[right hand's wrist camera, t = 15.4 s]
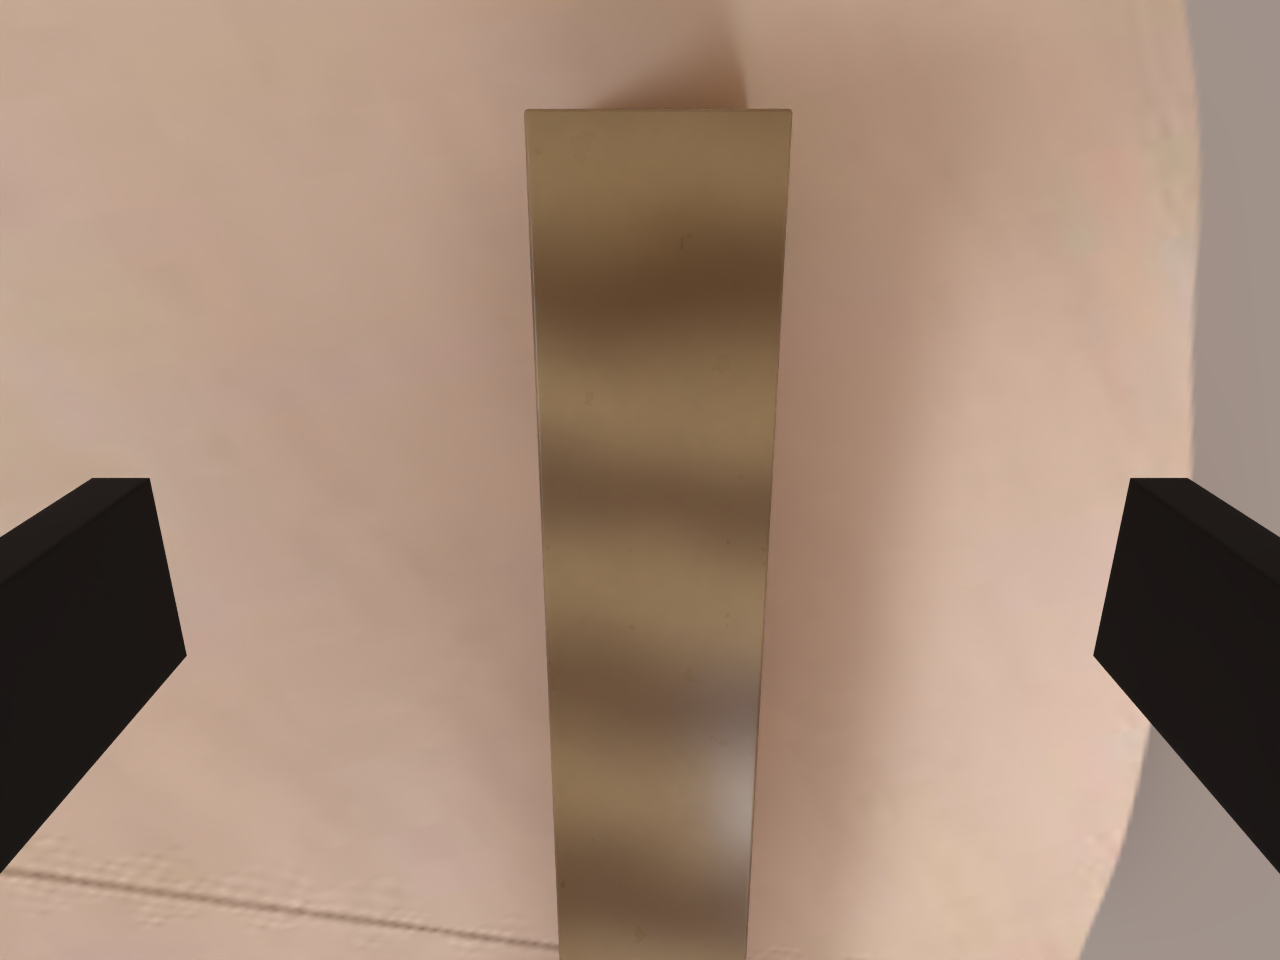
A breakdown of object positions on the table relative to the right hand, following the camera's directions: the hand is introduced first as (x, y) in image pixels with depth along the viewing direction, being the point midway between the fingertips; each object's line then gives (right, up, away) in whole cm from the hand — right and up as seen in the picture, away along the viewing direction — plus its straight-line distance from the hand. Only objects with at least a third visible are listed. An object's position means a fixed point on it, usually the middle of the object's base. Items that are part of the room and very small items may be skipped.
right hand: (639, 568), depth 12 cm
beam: (0, -12, +23) cm, 26 cm away
